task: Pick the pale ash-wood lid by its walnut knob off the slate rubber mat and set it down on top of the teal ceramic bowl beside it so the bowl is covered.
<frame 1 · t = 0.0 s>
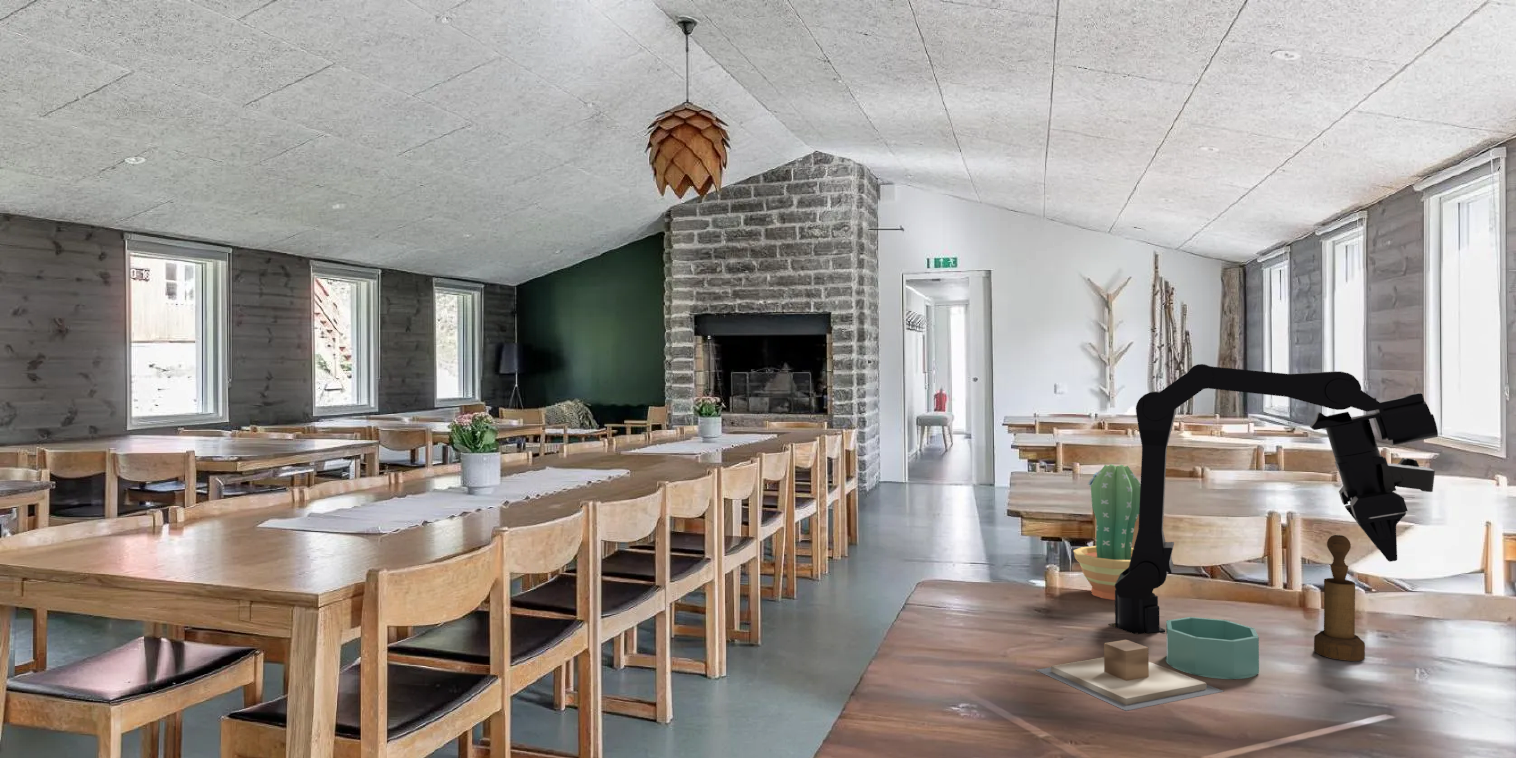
hand: (1387, 555, 133), 15 cm above the table, tool pointing down, fingers open, 9 cm apart
mat: (1126, 684, 124), on the table
brown wooden upright piece: (1339, 655, 136), on the table
potted cactus: (1115, 595, 174), on the table
lid: (1126, 680, 124), point 1 cm above the table, touching mat
bowl: (1211, 670, 130), on the table
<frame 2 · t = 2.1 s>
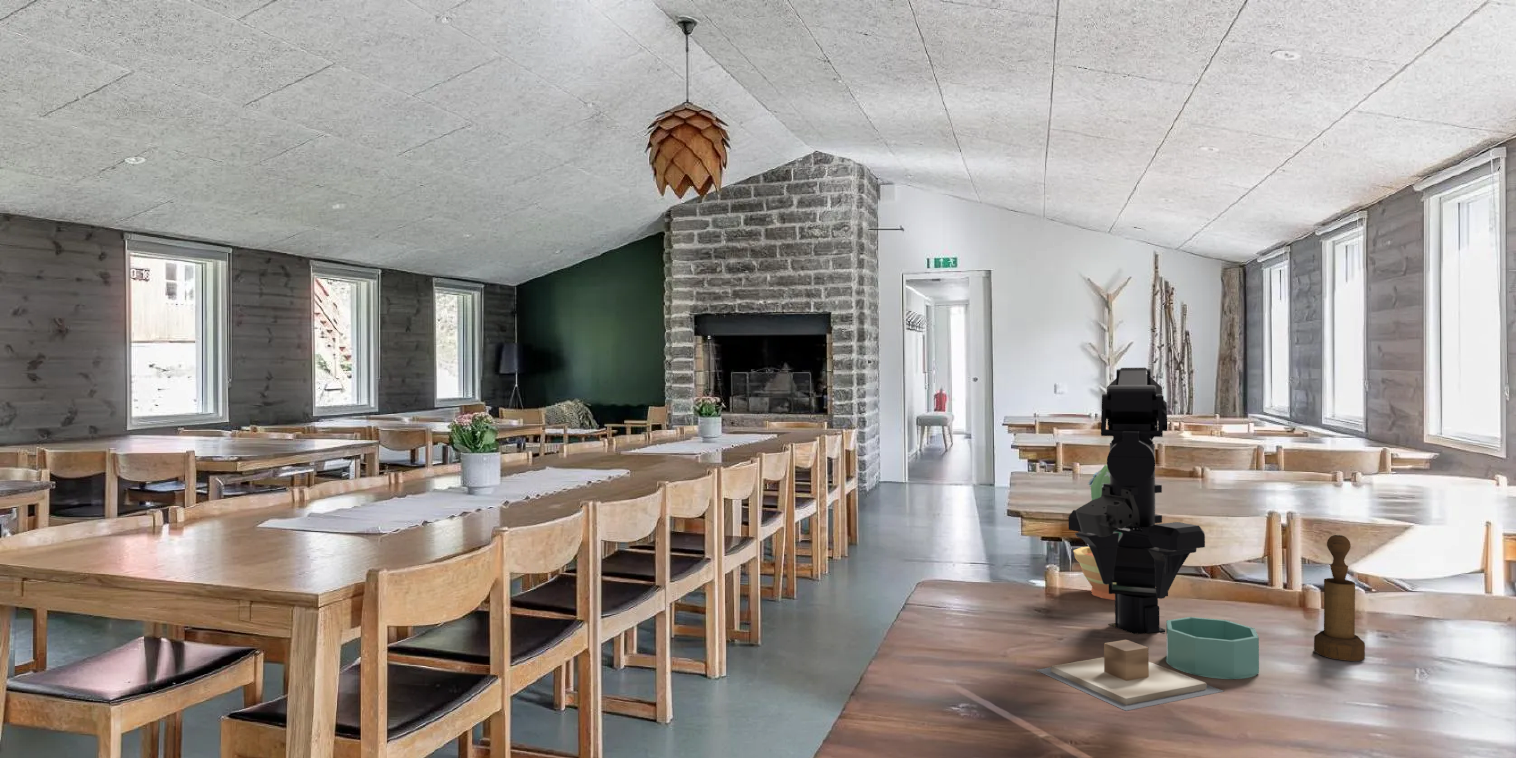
hand: (1133, 590, 123), 13 cm above the table, tool pointing down, fingers open, 9 cm apart
nothing on the table moved.
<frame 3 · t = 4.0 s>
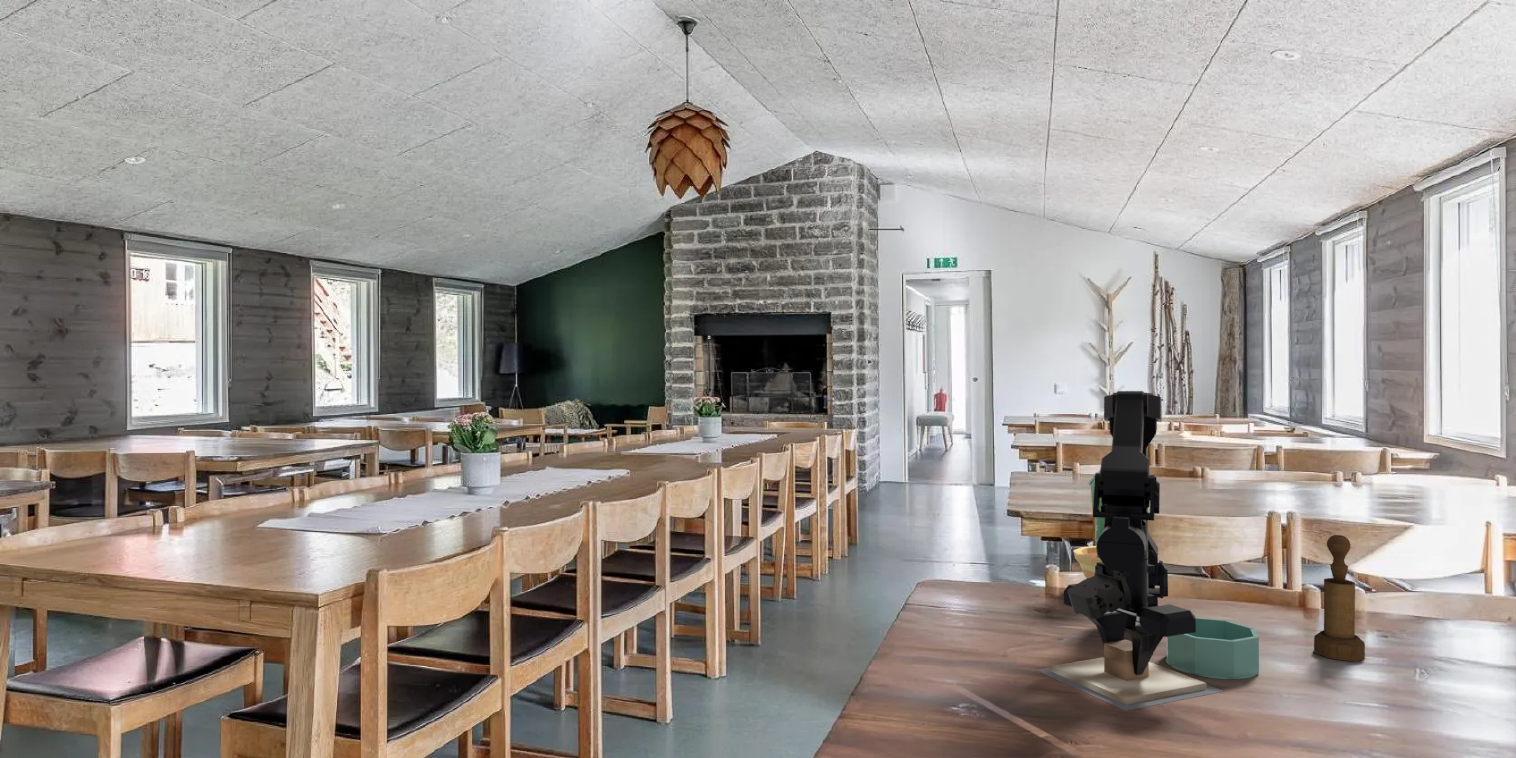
hand: (1126, 669, 124), 2 cm above the table, tool pointing down, fingers closed on lid, 4 cm apart
lid: (1126, 680, 124), point 1 cm above the table, touching gripper, mat
everything else where it was.
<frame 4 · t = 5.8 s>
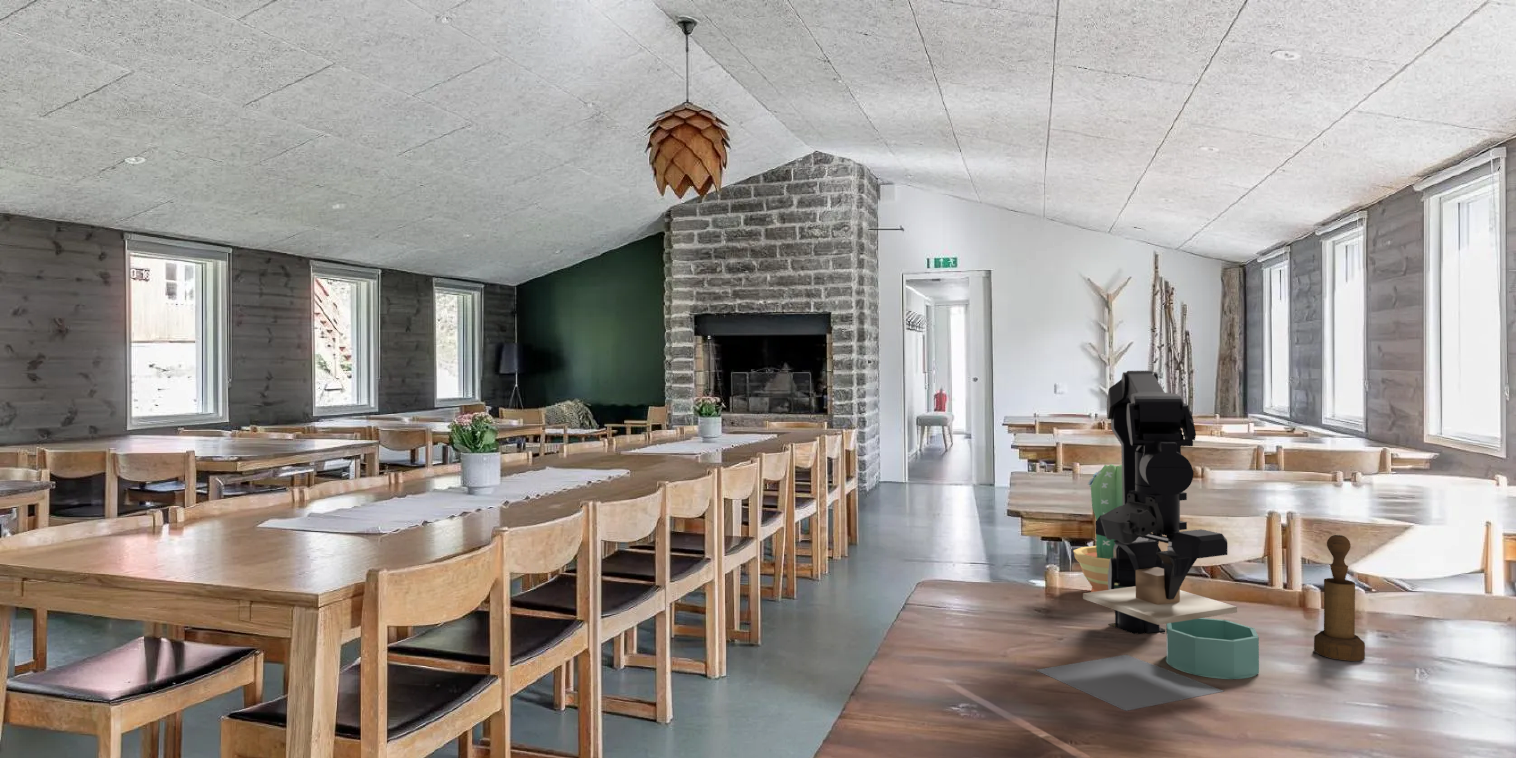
hand: (1157, 595, 126), 12 cm above the table, tool pointing down, fingers closed on lid, 4 cm apart
lid: (1157, 605, 126), point 10 cm above the table, touching gripper
everything else where it was.
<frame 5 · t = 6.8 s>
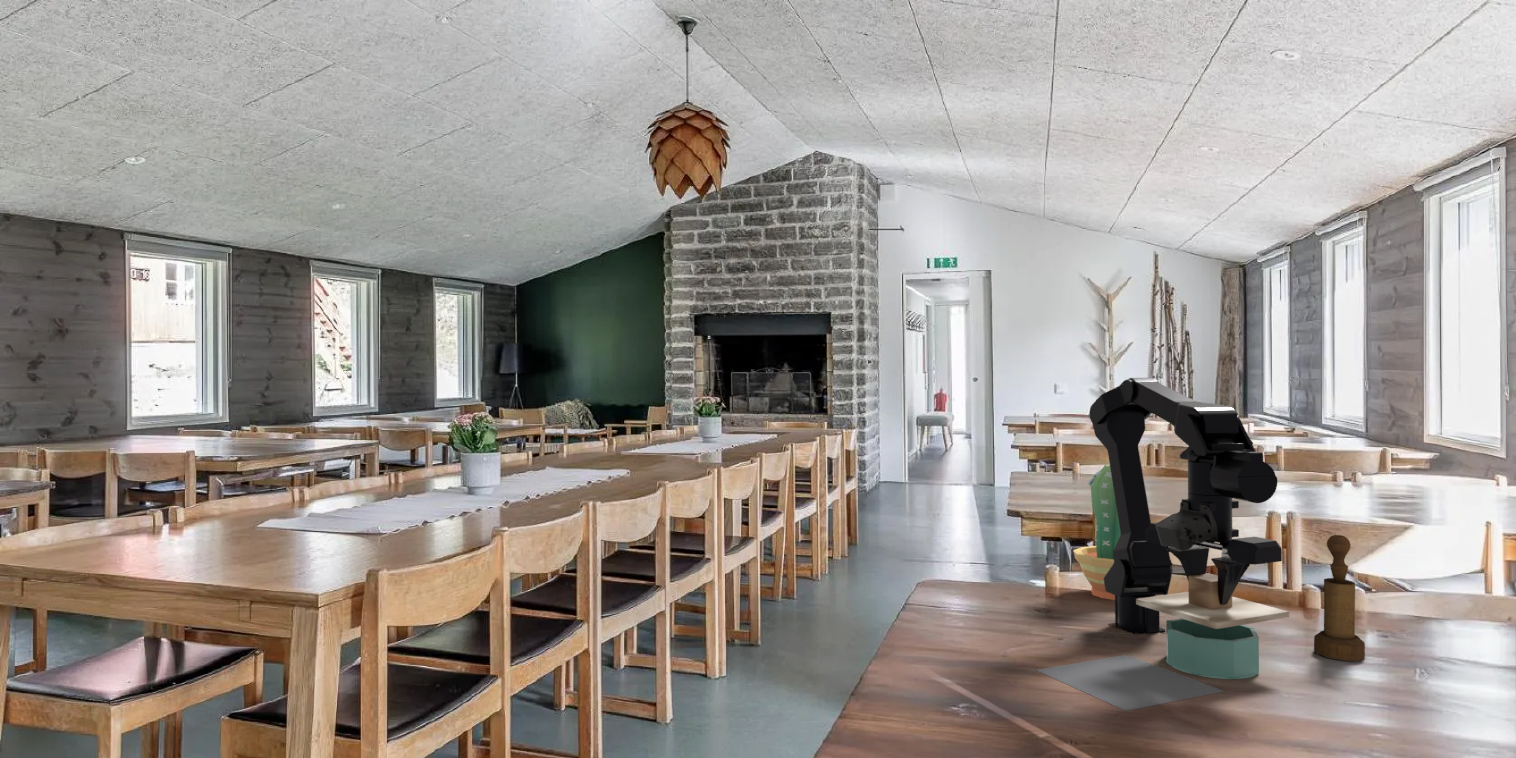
hand: (1210, 600, 130), 10 cm above the table, tool pointing down, fingers closed on lid, 4 cm apart
lid: (1210, 610, 130), point 8 cm above the table, touching gripper
everything else where it was.
when the fingers open (9 cm above the table, at t = 7.7 s): lid drops 1 cm, resting on bowl.
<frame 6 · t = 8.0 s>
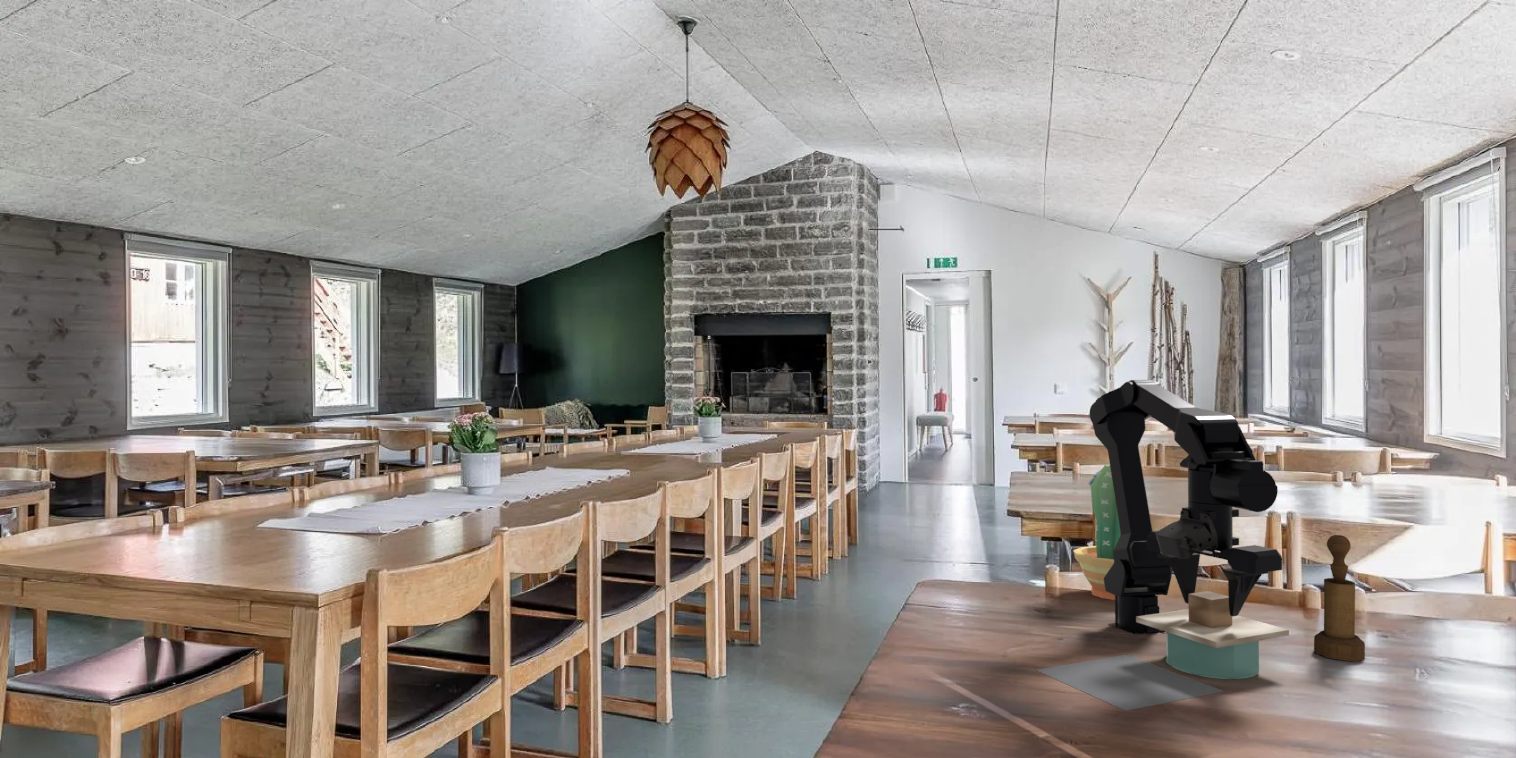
hand: (1210, 609, 130), 9 cm above the table, tool pointing down, fingers open, 7 cm apart
lid: (1210, 628, 130), point 6 cm above the table, touching bowl
bowl: (1211, 670, 130), on the table, touching lid
everything else where it was.
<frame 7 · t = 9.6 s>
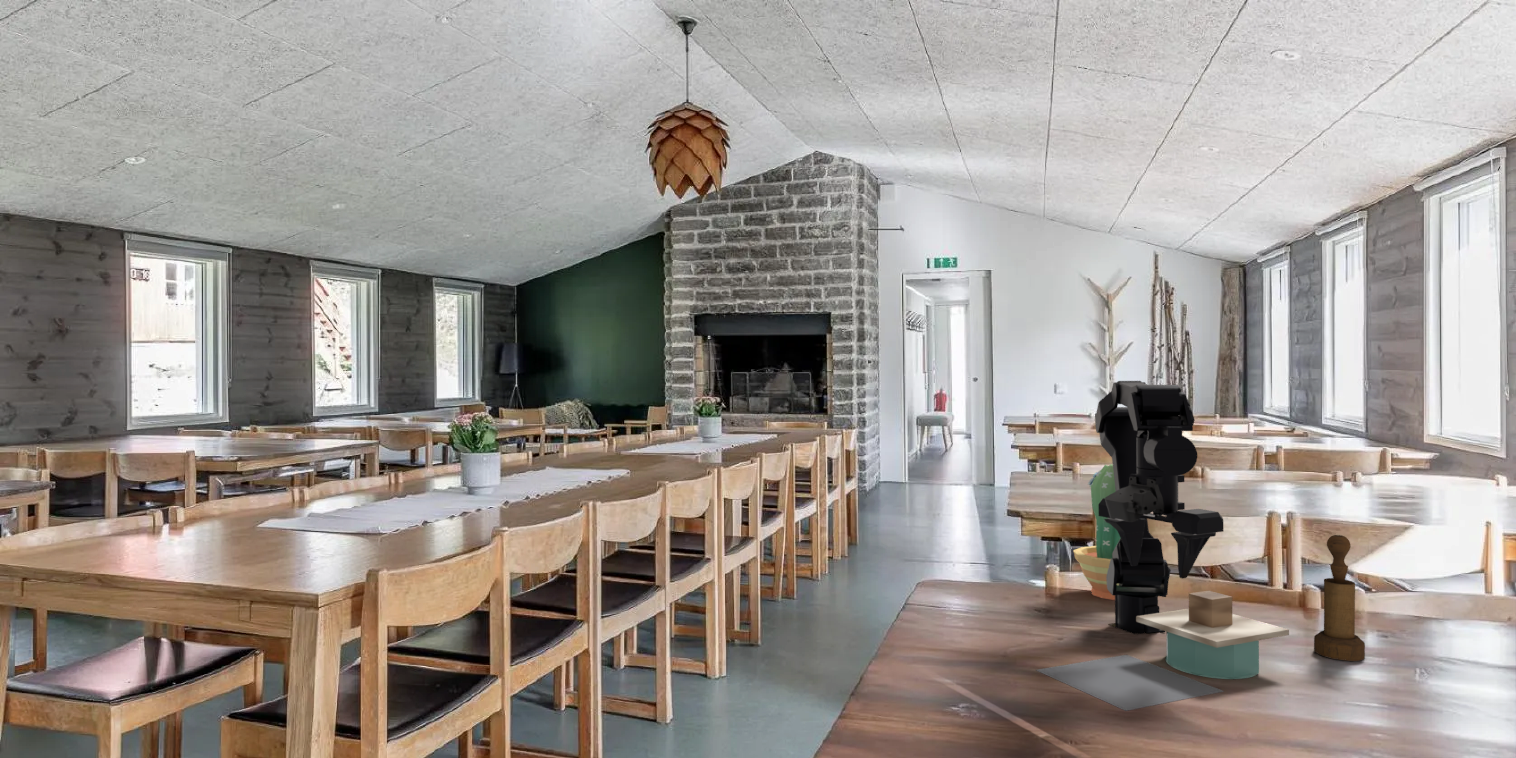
hand: (1157, 571, 135), 13 cm above the table, tool pointing down, fingers open, 9 cm apart
lid: (1210, 628, 130), point 6 cm above the table
bowl: (1211, 669, 130), on the table
everything else where it was.
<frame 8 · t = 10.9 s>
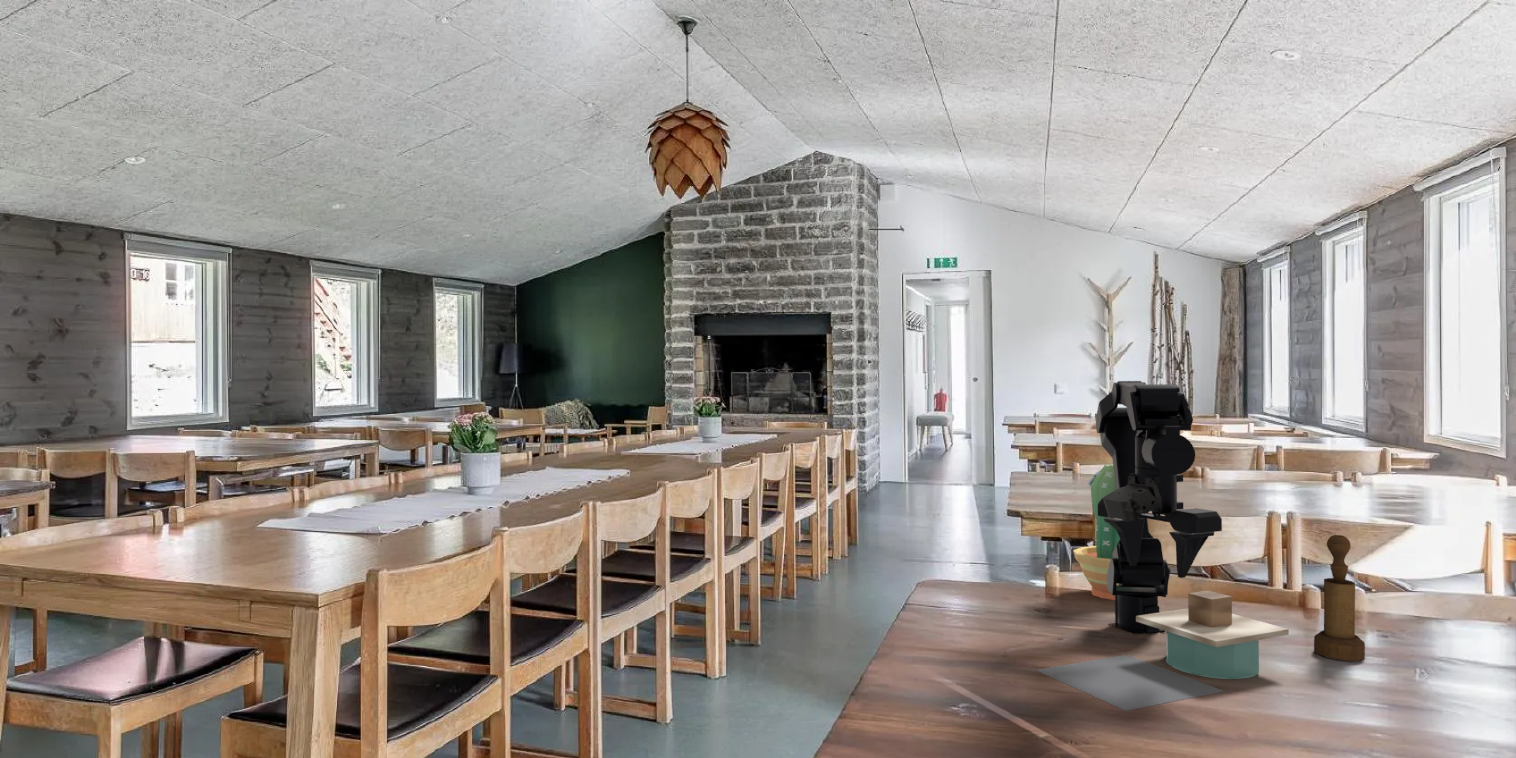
hand: (1156, 571, 135), 13 cm above the table, tool pointing down, fingers open, 9 cm apart
lid: (1210, 627, 130), point 6 cm above the table, touching bowl
bowl: (1211, 669, 130), on the table, touching lid
everything else where it was.
at the end: lid 0.3 cm off-centre on the bowl, point 6.0 cm above the bowl's base; lid tilted 0°; the gripper is holding nothing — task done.
